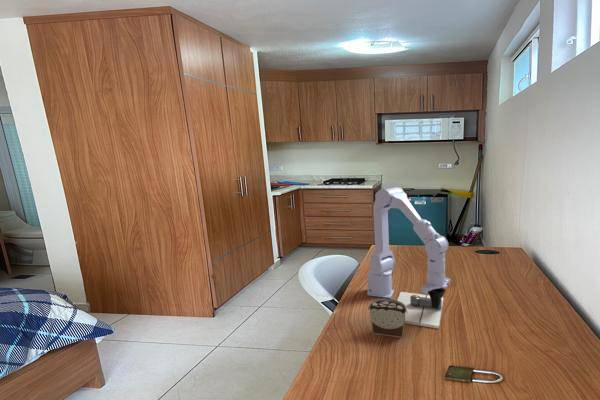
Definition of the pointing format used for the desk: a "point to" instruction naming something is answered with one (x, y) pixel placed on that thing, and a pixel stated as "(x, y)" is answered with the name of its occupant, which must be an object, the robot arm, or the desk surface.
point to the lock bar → (422, 301)
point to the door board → (420, 312)
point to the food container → (387, 317)
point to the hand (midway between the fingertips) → (435, 307)
